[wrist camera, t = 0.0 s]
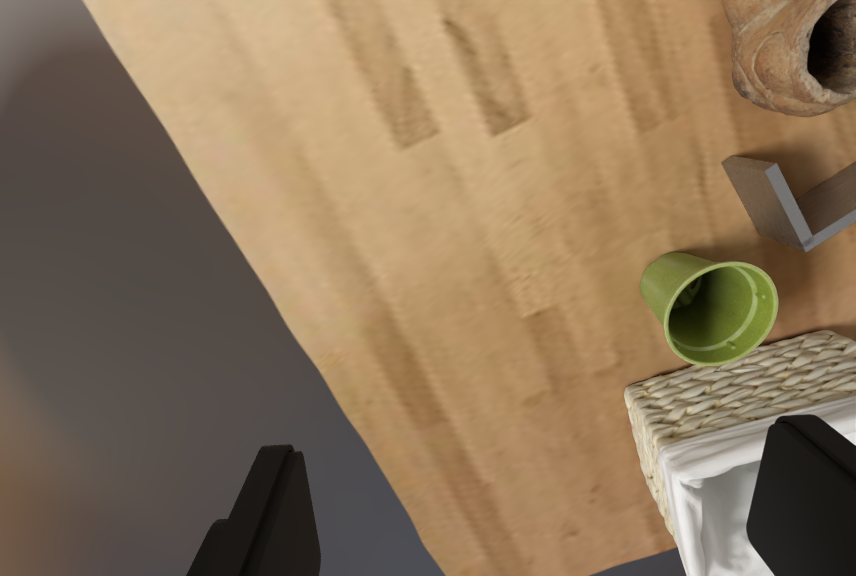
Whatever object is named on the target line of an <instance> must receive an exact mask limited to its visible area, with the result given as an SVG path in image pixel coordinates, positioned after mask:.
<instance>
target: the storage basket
mask: <svg viewBox="0 0 856 576" xmlns="http://www.w3.org/2000/svg"><path fill="white" fill-rule="evenodd" d="M624 397H625V402H626V406H627V408H628V414H629V418H630V422H631V425H632V432H633V436H634V439H635V442H636V447H637V452H638V455H639V458H640V465H641V469H642V471H643V473H644V476H645V479H646V483H647V485H648V487H649V489H650V491H651V493H652V496H653V498H654V499H655V501H656V502H657V504H658V509H659V511H660V513H661V514H662V516H663V517H664V518H665V525H666V527H667V529H668V530H669V532H670V533H671V534H672V535H673V538H674V540H675V542H676V544H677V546H678V549H679V553H680V556H681V559H682V562H683V566H684V568H685V572H686V575H687V576H774V574H773V573H772V572H771V570H770V569H769V568H768V566H767V565H766V564H765V562H764V561H763V560H762V558H761V557H760V556H759V554H758V553H757V552H756V551H755V549H754V548H753V546H752V545H751V543H750V541H749V539H748V536H747V532H746V524H747V519H748V515H749V510H750V506H751V502H752V497H753V493H754V489H755V484H756V480H757V475H758V471H759V467H760V462H761V458H762V454H763V449H764V445H765V440H766V436H767V432H768V429H769V427H770V426H771V425H772V424H775V421H776V419H777V418H778V417H780V416H786V415H803V414H812V415H816V416H818V417H819V418H821V419H822V420H823V421H825V422H826V423H827V424H829V425H830V426H831V427H832V428H834V429H835V430H836V431H838V432H839V433H840V434H841V435H843V436H844V437H845V438H847V439H848V440H849V441H850V442H852V443H853V444H854V445H856V341H854V340H852V339H850V338H848V337H844V336H842V335H839V334H836V333H835V332H833V331H831V330H822V331H817V332H814V333H807V334H804V335H802V336H798V337H795V338H793V339H788V340H783V341H779V342H776V343H773V344H770V345H768V346H758V347H756V348H755V349H754V350H753V351H752V352H750V353H749V354H747V355H745V356H744V357H742V358H740V359H738V360H736V361H734V362H731V363H728V364H723V365H719V366H699V365H693V366H691V367H689V368H687V369H686V368H684V370H678V371H675V372H674V373H671V374H667V375H664V376H662V375H659V376H658V377H654V378H650V379H649V380H646V381H643V382H639V383H635V384H632V385H629V386H627V387H626V389H625V392H624Z"/></svg>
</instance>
